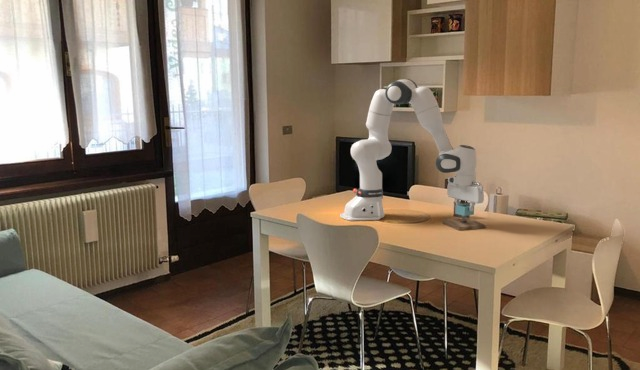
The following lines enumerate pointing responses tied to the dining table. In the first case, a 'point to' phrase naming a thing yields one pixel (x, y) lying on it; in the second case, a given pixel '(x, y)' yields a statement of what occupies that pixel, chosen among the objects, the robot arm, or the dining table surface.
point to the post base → (463, 223)
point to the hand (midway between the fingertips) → (464, 209)
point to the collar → (463, 210)
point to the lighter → (460, 203)
